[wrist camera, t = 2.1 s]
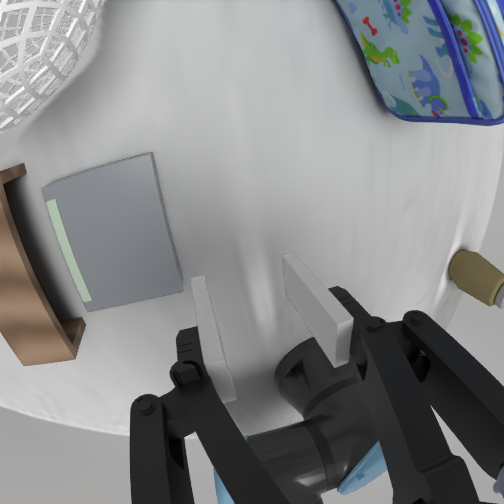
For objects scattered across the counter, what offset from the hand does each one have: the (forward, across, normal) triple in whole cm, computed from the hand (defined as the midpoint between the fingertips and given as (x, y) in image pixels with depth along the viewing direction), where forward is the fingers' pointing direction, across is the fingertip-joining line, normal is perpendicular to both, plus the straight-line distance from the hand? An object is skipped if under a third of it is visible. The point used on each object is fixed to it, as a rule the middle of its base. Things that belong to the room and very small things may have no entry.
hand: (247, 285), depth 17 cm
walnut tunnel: (+17, +24, 0) cm, 30 cm away
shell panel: (+17, +11, 0) cm, 20 cm away
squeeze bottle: (+17, -44, +20) cm, 52 cm away
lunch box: (+17, -24, -21) cm, 36 cm away
